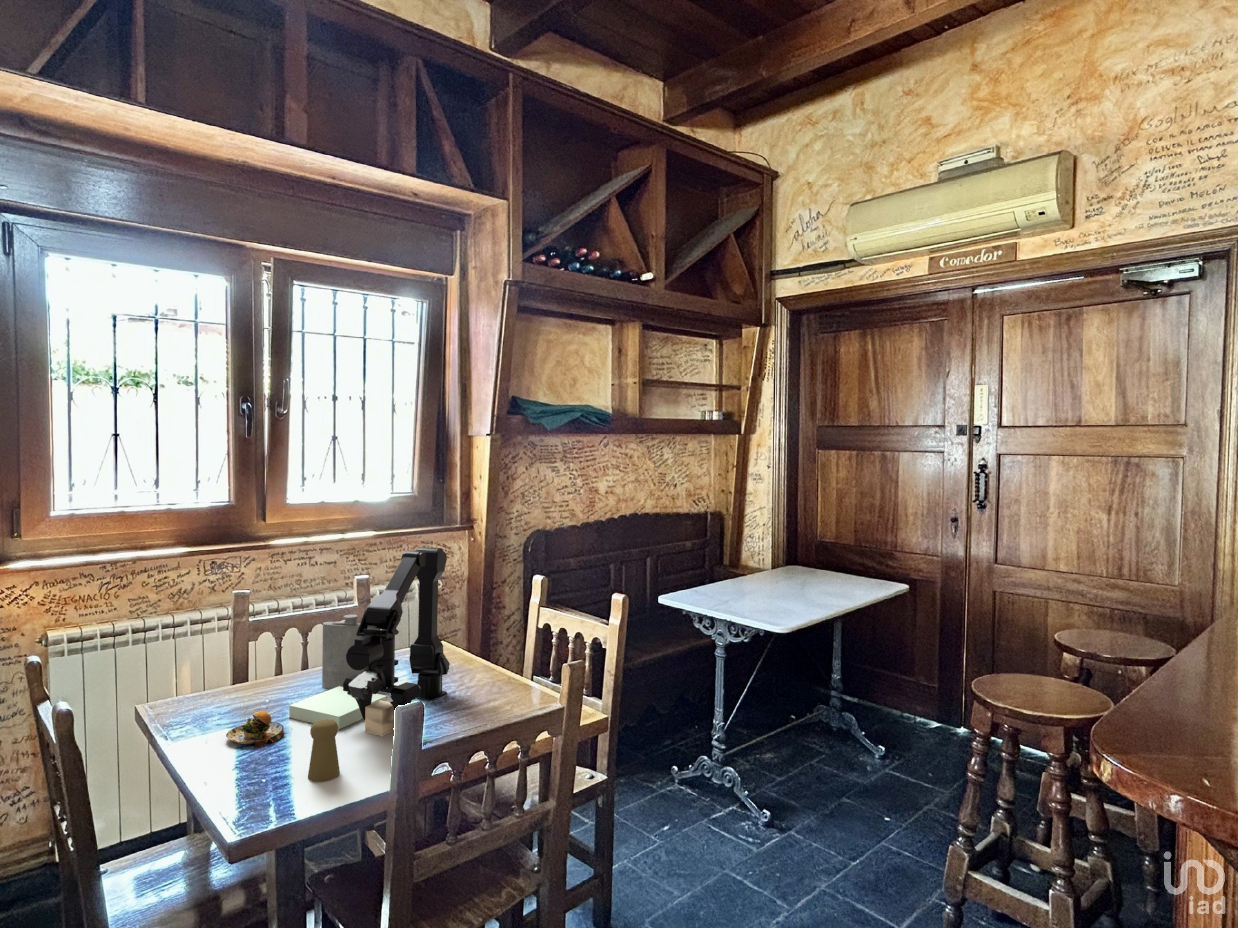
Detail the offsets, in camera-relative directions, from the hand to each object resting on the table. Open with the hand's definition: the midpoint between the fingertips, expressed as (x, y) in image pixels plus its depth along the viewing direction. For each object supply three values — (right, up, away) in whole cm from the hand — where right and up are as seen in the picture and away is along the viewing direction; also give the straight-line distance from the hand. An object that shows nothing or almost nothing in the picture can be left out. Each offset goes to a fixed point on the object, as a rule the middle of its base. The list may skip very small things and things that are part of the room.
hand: (381, 723), depth 172 cm
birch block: (0, -2, 0) cm, 2 cm away
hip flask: (-18, -1, +29) cm, 34 cm away
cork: (-4, -2, -23) cm, 24 cm away
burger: (-27, -2, -5) cm, 27 cm away
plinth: (-14, -1, +11) cm, 18 cm away
